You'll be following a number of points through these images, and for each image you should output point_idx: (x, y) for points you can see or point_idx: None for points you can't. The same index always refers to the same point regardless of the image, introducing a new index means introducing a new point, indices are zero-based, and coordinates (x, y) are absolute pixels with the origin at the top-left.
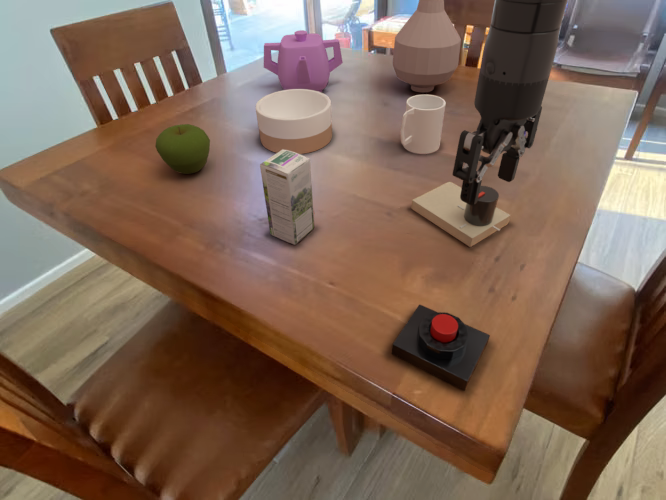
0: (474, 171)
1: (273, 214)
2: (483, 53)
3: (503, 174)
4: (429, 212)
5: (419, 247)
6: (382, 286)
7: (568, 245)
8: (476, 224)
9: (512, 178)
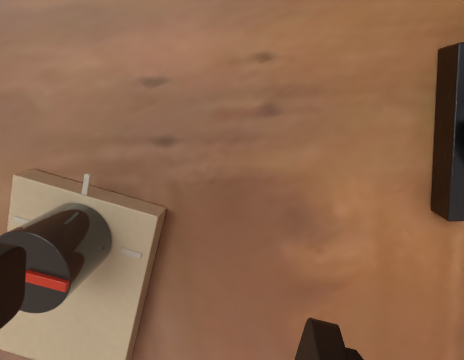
0: None
1: None
2: None
3: (4, 300)
4: (131, 335)
5: (236, 296)
6: (393, 304)
7: (7, 15)
8: (107, 229)
9: (2, 250)
